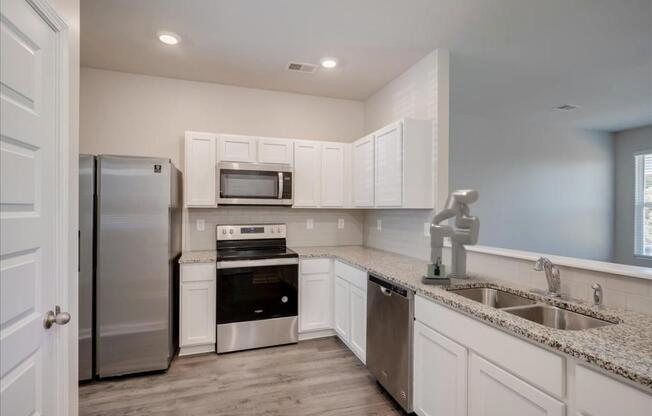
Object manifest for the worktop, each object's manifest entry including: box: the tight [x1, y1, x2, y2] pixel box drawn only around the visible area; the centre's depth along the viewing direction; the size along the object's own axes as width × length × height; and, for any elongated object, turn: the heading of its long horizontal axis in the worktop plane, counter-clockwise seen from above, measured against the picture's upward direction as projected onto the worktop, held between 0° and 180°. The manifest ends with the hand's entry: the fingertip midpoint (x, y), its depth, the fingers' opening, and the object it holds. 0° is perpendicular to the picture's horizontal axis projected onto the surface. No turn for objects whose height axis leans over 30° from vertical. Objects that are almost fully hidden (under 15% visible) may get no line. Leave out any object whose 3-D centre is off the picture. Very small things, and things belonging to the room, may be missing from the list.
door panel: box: [426, 263, 446, 278], centre depth 203 cm, size 3×10×8 cm, turn 86°
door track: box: [421, 275, 452, 286], centre depth 203 cm, size 7×16×4 cm, turn 86°
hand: (436, 274), depth 203 cm, fingers closed on door panel, 3 cm apart
